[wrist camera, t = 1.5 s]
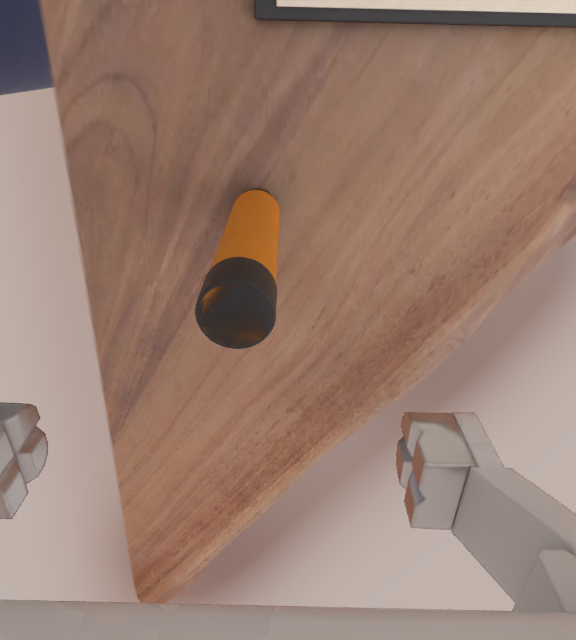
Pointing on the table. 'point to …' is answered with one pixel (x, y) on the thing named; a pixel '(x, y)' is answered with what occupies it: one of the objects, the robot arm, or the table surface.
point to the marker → (243, 275)
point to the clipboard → (424, 12)
